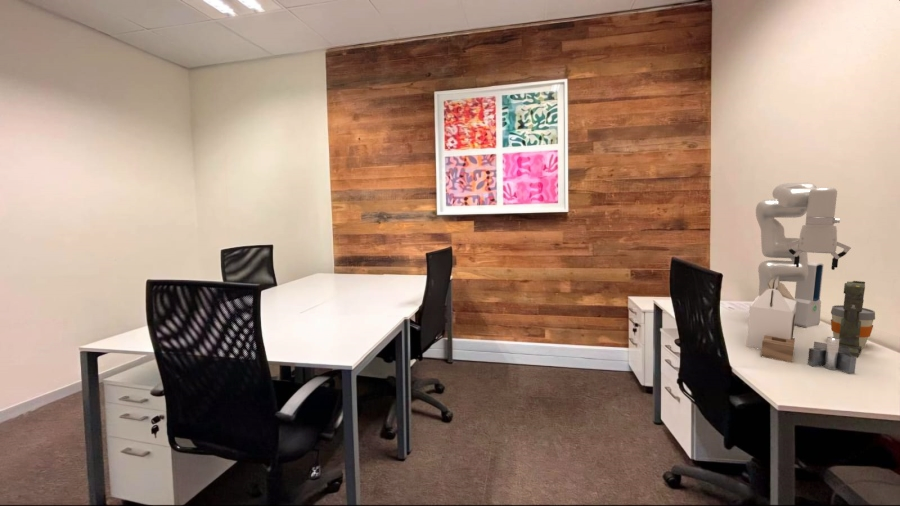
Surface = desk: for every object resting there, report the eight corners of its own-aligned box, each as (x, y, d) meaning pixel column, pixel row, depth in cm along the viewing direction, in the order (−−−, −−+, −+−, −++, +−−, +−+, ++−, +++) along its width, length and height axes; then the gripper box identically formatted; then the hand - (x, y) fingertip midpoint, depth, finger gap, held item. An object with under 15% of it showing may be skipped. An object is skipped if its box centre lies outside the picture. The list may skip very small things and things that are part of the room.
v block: (807, 355, 148) (809, 340, 147) (851, 363, 140) (853, 348, 139) (807, 365, 139) (809, 349, 138) (854, 374, 131) (856, 357, 130)
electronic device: (806, 328, 179) (812, 264, 176) (786, 323, 186) (792, 262, 183) (820, 324, 184) (826, 262, 181) (801, 320, 191) (807, 260, 187)
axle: (824, 365, 139) (827, 336, 137) (835, 367, 137) (839, 338, 135) (824, 368, 137) (827, 338, 135) (836, 370, 135) (839, 340, 133)
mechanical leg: (835, 341, 160) (843, 274, 151) (860, 345, 155) (870, 277, 146) (833, 358, 151) (841, 288, 142) (860, 363, 146) (870, 291, 137)
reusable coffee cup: (832, 337, 167) (835, 303, 165) (874, 345, 157) (879, 309, 155) (823, 343, 160) (827, 308, 158) (867, 352, 150) (872, 315, 148)
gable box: (753, 334, 174) (759, 273, 171) (792, 340, 165) (799, 276, 161) (746, 347, 158) (751, 280, 155) (788, 355, 149) (795, 284, 146)
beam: (763, 347, 157) (765, 333, 156) (793, 353, 151) (794, 338, 150) (761, 356, 148) (762, 341, 147) (792, 362, 142) (794, 346, 141)
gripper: (852, 222, 138) (847, 269, 140) (788, 221, 150) (784, 264, 152) (854, 223, 133) (848, 272, 135) (787, 222, 144) (783, 267, 146)
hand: (814, 268), depth 143 cm, fingers open, 9 cm apart
